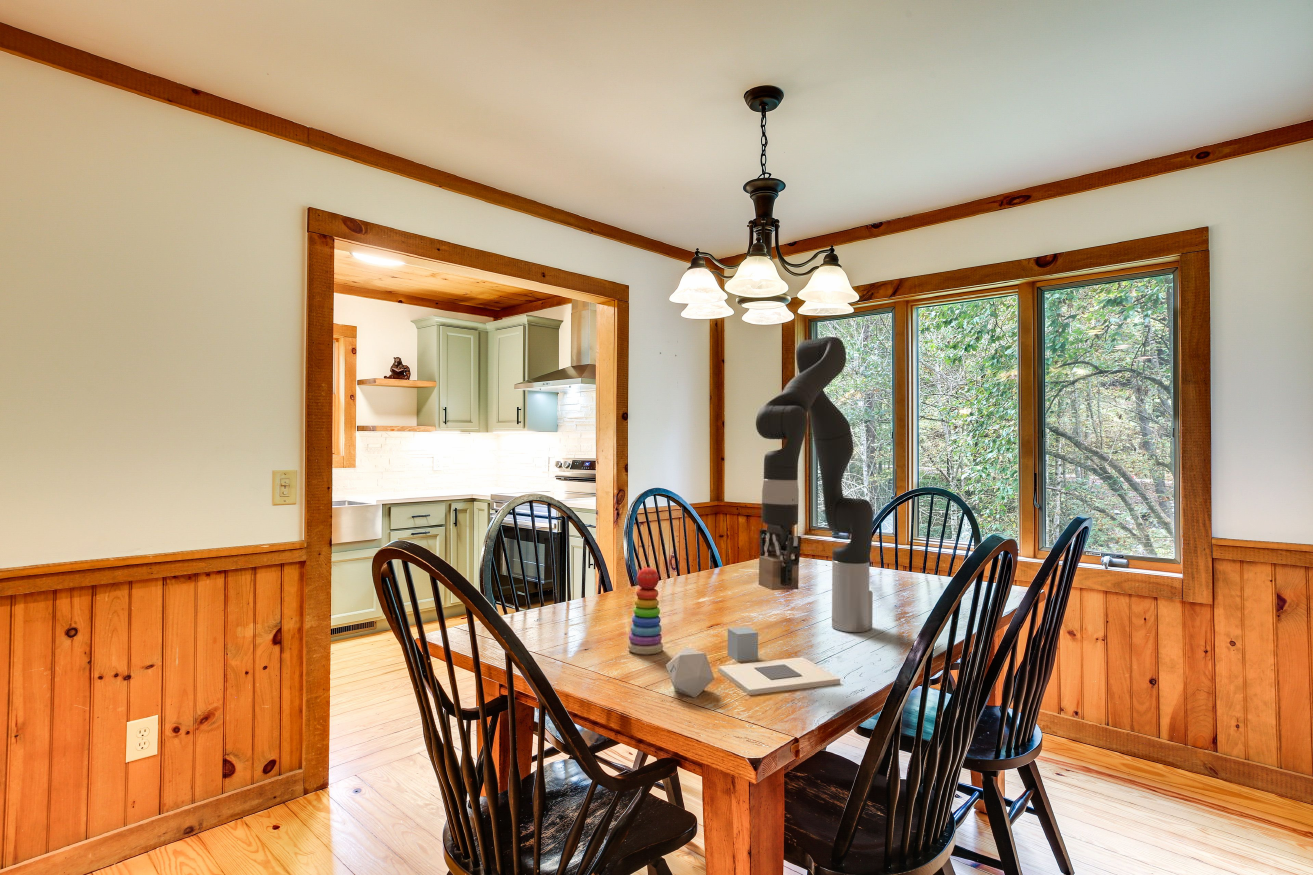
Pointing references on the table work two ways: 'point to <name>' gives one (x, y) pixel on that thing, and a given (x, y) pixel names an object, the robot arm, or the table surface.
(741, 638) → the slate block
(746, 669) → the cream board
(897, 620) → the table surface
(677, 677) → the die
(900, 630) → the table surface
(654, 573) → the stacking toy
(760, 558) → the walnut block
